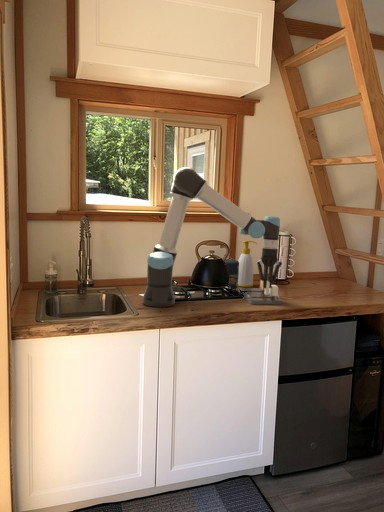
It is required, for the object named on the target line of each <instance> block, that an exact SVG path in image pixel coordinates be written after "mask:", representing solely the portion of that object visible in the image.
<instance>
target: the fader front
mask: <svg viewBox="0 0 384 512" xmlns="http://www.w3.org/2000/svg"><path fill="white" fill-rule="evenodd" d="M269 294H270V295H272V297H275V296H279V287H278V285H276V284H271V288H269Z"/></svg>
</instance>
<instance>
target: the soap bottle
mask: <svg viewBox="0 0 384 512" xmlns="http://www.w3.org/2000/svg"><path fill="white" fill-rule="evenodd" d="M242 243H243V244H244V247H242V253H241V254H240V255H239V258H238V260H237V261H238V262H239V276H238V287H239V288H252V287H253V286H254V263H253V257H252V255H251V248H249V243H253V244H256V245H257V244H258V242H256V241H253V240H243V241H242Z"/></svg>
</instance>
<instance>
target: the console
mask: <svg viewBox="0 0 384 512" xmlns="http://www.w3.org/2000/svg"><path fill="white" fill-rule="evenodd" d="M238 289H239V290H241V291H243V290H246V291H247V292H245V293H244V292H242V293H243V295H244V297H245V298H244V297H243V298H244V299H245V301H247V302H248V303H249V304H250V305H269V306H270V305H273V306H274V305H275V306H276V305H277V306H279V305H280V306H282V305H283V302H284V301H283V300H282V299H281V297H280V295H278V296H275V297H272V295H270V294H269V295H265V294H264V291H263V289H261V288H260V287H259V288H253V287H238ZM238 289H237V290H238Z"/></svg>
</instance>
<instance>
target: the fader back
mask: <svg viewBox="0 0 384 512" xmlns="http://www.w3.org/2000/svg"><path fill="white" fill-rule="evenodd" d="M259 288H261V289H263V291H264V290H265V288H263V281H262V280H260V283H259Z"/></svg>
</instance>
